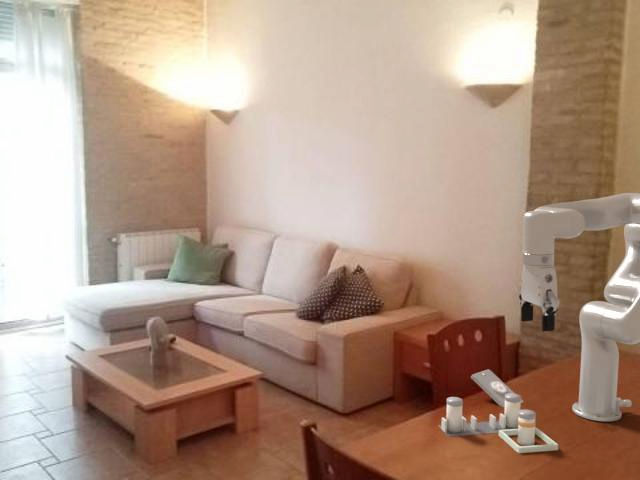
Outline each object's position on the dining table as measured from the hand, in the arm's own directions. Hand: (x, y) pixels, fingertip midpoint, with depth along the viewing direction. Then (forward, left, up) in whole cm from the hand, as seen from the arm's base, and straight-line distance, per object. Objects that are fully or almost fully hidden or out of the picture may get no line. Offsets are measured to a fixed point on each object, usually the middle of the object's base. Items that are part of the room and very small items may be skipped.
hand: (537, 325), depth 162 cm
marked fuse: (+7, +9, -27) cm, 29 cm away
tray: (+6, +9, -28) cm, 30 cm away
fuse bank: (+13, -1, -28) cm, 31 cm away
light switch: (0, -19, -28) cm, 34 cm away
